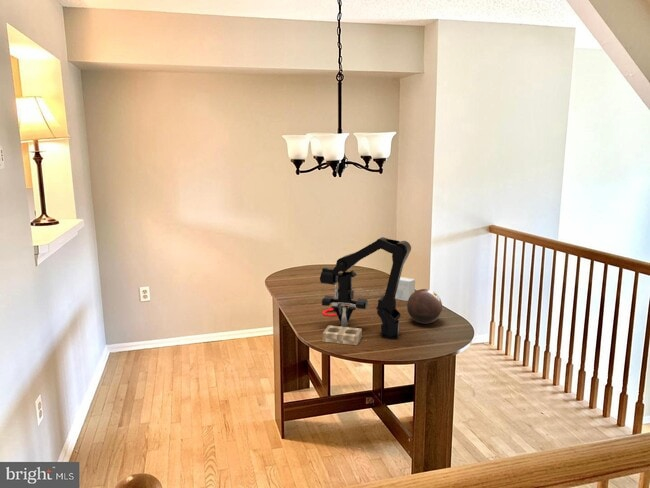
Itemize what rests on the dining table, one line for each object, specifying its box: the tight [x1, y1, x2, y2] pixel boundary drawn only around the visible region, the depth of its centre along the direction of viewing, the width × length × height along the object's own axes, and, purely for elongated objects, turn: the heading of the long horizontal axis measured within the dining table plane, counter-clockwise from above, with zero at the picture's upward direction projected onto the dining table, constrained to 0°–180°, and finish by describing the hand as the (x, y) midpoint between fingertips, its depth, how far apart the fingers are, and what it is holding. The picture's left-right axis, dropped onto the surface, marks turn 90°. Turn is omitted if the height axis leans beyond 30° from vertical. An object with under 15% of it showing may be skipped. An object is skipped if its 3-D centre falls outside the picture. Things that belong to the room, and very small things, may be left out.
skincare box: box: [395, 276, 416, 302], centre depth 245 cm, size 10×6×10 cm, turn 54°
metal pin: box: [340, 304, 349, 327], centre depth 203 cm, size 3×3×10 cm
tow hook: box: [322, 284, 338, 318], centre depth 222 cm, size 8×13×9 cm
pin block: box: [322, 324, 363, 346], centre depth 192 cm, size 14×9×4 cm, turn 74°
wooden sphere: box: [406, 288, 443, 325], centre depth 210 cm, size 15×15×15 cm
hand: (344, 321), depth 204 cm, fingers closed on metal pin, 3 cm apart
